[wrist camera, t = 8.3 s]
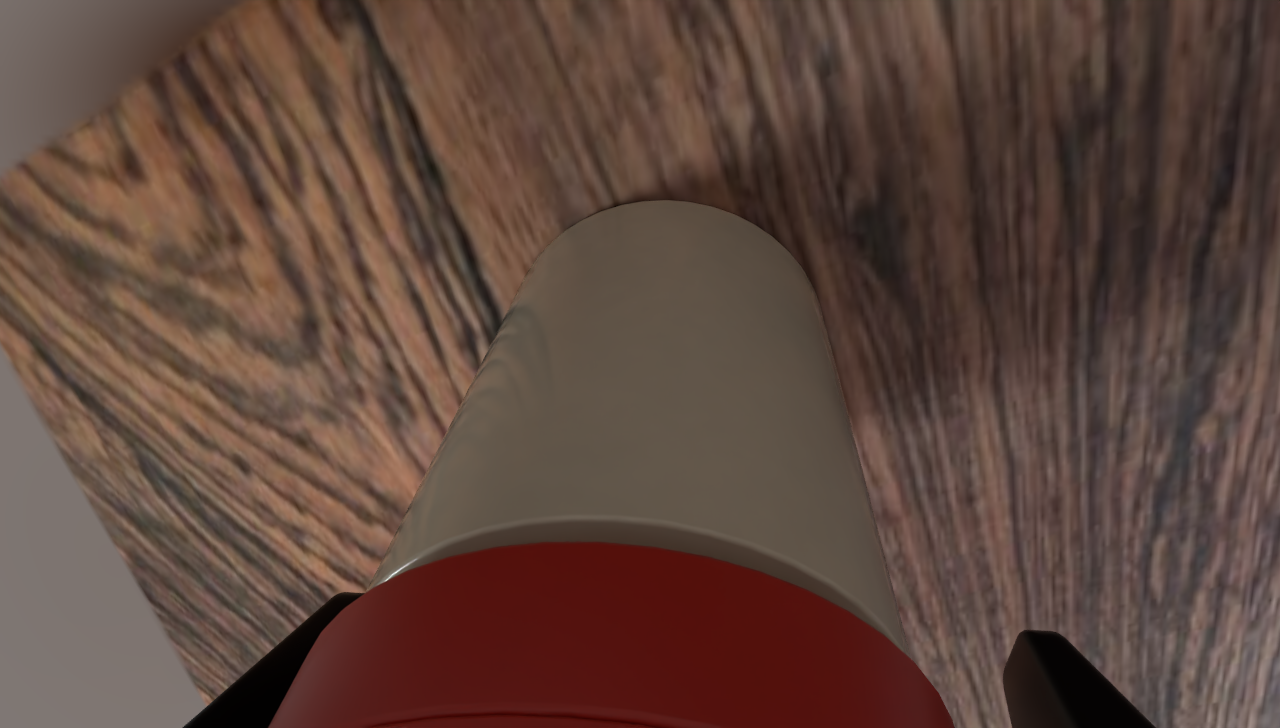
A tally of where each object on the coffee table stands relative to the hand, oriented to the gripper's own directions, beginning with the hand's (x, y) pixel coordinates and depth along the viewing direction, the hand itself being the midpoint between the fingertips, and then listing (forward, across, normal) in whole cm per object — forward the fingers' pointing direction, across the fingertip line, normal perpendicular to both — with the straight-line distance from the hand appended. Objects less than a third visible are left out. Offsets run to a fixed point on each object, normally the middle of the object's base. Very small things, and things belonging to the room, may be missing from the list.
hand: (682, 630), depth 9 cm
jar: (+7, +1, 0) cm, 7 cm away
